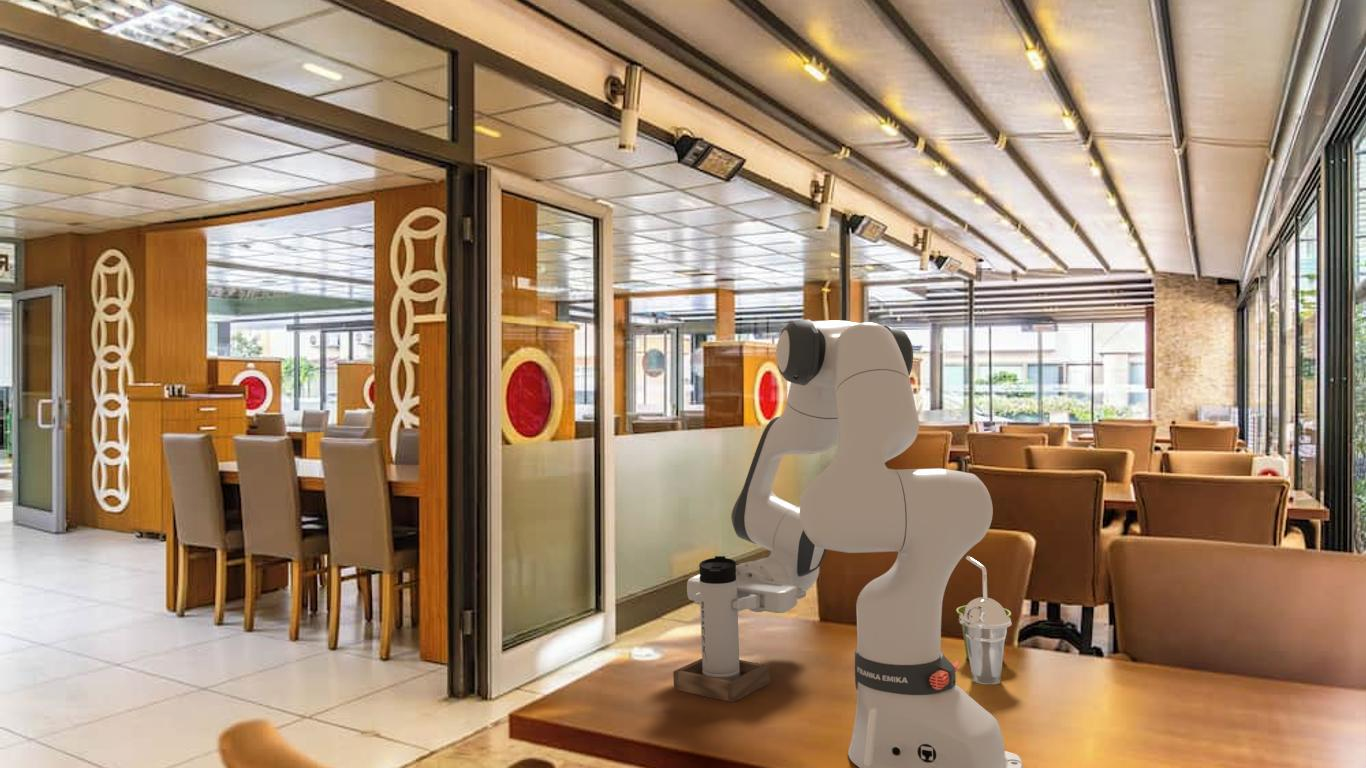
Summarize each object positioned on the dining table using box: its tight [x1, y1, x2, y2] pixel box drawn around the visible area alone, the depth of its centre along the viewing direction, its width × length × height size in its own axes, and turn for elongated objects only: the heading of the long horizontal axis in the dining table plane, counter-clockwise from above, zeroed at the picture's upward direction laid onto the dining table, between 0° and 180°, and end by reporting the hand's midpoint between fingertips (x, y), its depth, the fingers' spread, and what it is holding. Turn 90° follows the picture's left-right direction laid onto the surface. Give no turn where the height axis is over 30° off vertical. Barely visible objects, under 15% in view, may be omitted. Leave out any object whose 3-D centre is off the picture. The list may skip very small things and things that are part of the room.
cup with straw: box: [958, 555, 1013, 685], centre depth 156 cm, size 8×9×20 cm
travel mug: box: [698, 555, 740, 681], centre depth 157 cm, size 6×7×20 cm
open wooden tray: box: [672, 658, 770, 703], centre depth 157 cm, size 12×11×3 cm
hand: (716, 602), depth 156 cm, fingers closed on travel mug, 6 cm apart
